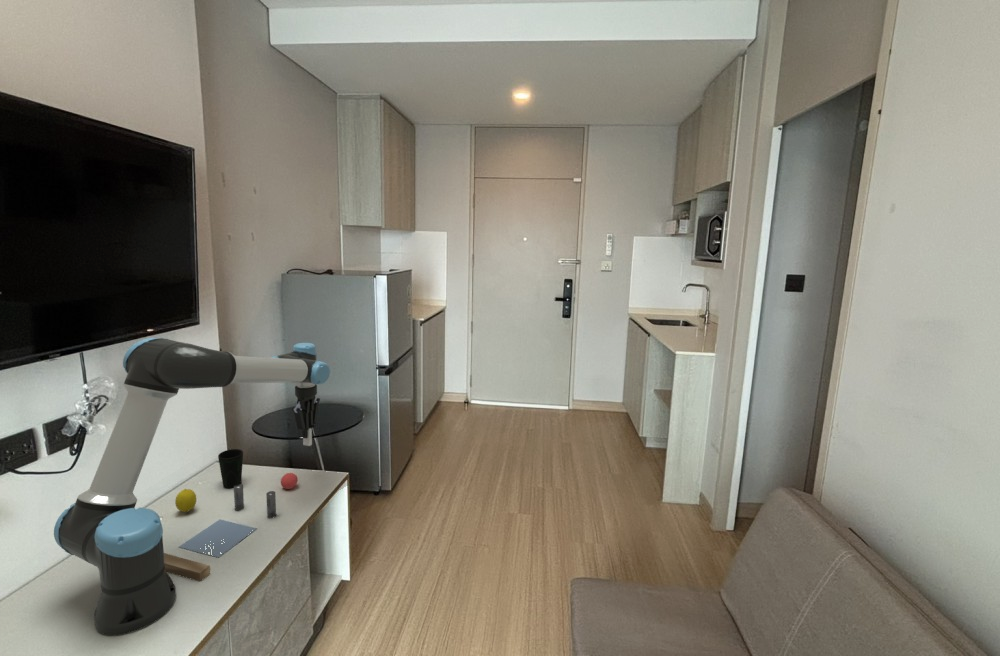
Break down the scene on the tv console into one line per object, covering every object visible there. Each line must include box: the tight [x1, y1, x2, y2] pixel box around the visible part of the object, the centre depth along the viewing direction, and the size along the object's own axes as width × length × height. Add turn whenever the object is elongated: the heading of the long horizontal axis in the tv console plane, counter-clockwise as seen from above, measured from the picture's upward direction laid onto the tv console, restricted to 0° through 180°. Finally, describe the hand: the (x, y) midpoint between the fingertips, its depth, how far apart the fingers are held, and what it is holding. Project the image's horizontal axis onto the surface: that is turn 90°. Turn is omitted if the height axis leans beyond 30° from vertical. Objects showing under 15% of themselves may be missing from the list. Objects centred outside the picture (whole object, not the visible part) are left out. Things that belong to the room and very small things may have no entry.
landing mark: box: [178, 519, 258, 559], centre depth 134 cm, size 14×14×1 cm
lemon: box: [174, 488, 197, 513], centre depth 145 cm, size 6×6×8 cm
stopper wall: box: [164, 552, 211, 582], centre depth 121 cm, size 3×20×2 cm, turn 76°
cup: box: [217, 448, 244, 490], centre depth 162 cm, size 8×8×12 cm
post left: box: [233, 483, 245, 512], centre depth 148 cm, size 3×3×8 cm
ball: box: [280, 472, 299, 490], centre depth 162 cm, size 6×6×6 cm
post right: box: [266, 490, 277, 519], centre depth 145 cm, size 3×3×8 cm
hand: (307, 444), depth 171 cm, fingers closed
